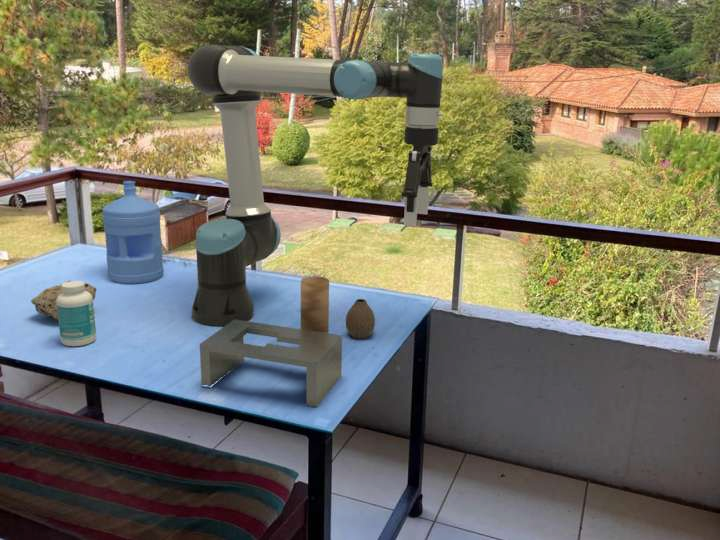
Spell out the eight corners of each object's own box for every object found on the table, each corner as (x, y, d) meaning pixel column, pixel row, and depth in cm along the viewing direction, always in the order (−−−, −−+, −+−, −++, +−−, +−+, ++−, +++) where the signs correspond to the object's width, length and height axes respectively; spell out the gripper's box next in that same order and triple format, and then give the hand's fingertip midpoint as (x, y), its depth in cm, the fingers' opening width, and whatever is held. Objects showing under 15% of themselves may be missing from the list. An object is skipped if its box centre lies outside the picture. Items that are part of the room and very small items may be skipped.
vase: (364, 343, 152) (365, 307, 150) (339, 336, 156) (340, 301, 153) (380, 334, 158) (381, 299, 155) (355, 327, 162) (356, 293, 159)
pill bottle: (100, 343, 149) (95, 285, 145) (65, 350, 145) (58, 291, 141) (91, 332, 155) (86, 276, 151) (57, 339, 150) (51, 282, 146)
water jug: (123, 267, 204) (116, 176, 196) (172, 270, 202) (167, 178, 194) (97, 282, 189) (88, 184, 181) (150, 286, 187) (143, 187, 179)
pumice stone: (80, 303, 173) (77, 273, 171) (107, 313, 166) (105, 283, 164) (28, 318, 162) (24, 287, 160) (55, 329, 156) (51, 297, 153)
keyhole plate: (201, 386, 130) (199, 344, 127) (235, 358, 143) (234, 319, 140) (316, 407, 123) (316, 363, 121) (341, 376, 136) (342, 335, 133)
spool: (296, 357, 144) (296, 283, 139) (306, 347, 149) (307, 275, 144) (322, 362, 142) (323, 286, 137) (332, 351, 148) (333, 278, 143)
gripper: (428, 132, 136) (421, 233, 142) (447, 123, 159) (441, 210, 165) (392, 129, 138) (387, 229, 144) (416, 121, 161) (411, 207, 167)
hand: (416, 219), depth 155 cm, fingers open, 13 cm apart
